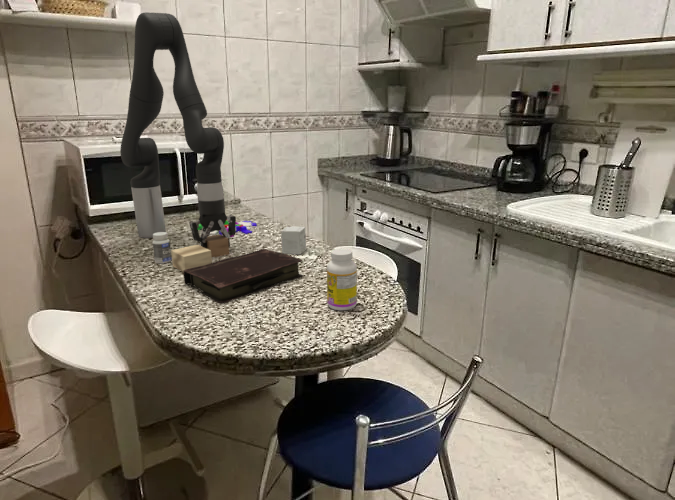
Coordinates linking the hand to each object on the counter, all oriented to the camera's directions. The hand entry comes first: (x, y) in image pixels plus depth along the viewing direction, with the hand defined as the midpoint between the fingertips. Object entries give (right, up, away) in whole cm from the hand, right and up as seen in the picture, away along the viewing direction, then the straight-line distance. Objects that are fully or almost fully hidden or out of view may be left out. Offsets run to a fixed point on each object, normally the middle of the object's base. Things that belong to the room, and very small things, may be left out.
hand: (216, 251), depth 140 cm
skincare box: (+24, 0, +2) cm, 24 cm away
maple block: (-4, -4, -11) cm, 12 cm away
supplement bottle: (+38, -12, -37) cm, 54 cm away
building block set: (-4, +8, +30) cm, 32 cm away
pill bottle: (-14, -3, -6) cm, 15 cm away
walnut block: (0, -1, 0) cm, 1 cm away
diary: (+13, -8, -21) cm, 26 cm away
